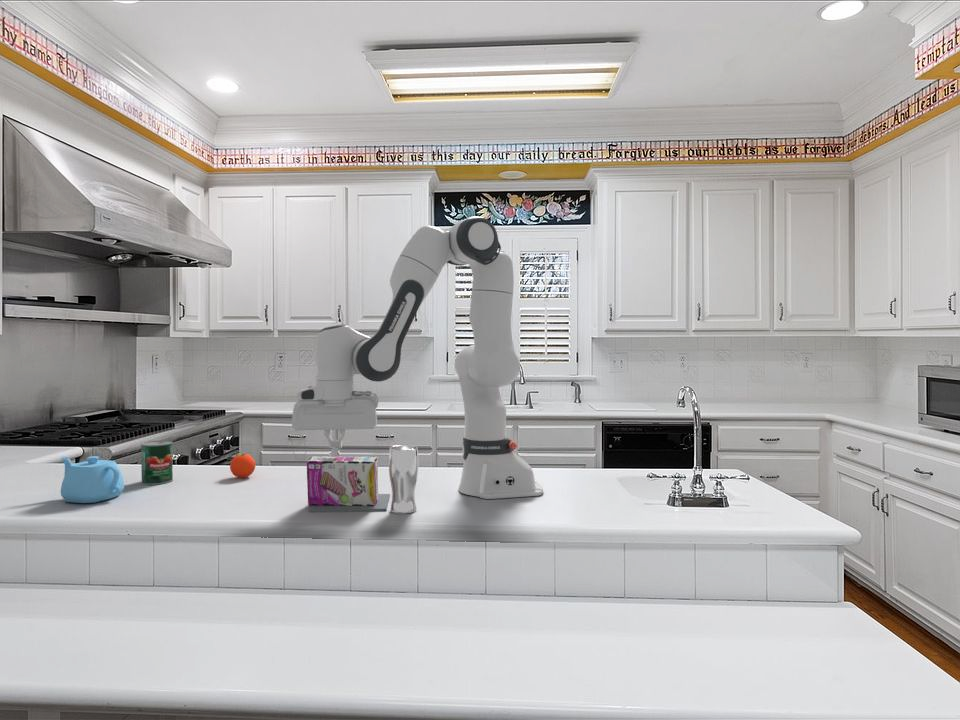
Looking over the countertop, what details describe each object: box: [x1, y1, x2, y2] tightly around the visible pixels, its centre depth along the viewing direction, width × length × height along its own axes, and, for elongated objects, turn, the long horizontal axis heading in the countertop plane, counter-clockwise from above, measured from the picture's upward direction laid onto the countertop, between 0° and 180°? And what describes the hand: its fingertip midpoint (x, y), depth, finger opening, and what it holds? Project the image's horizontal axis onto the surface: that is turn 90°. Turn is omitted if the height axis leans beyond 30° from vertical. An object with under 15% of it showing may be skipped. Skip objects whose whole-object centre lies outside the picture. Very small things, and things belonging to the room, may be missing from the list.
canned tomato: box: [140, 439, 174, 486], centre depth 178 cm, size 8×8×11 cm
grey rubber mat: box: [308, 493, 391, 513], centre depth 156 cm, size 18×14×1 cm
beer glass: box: [388, 444, 419, 515], centre depth 150 cm, size 7×7×15 cm
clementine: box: [229, 453, 256, 479], centre depth 184 cm, size 8×7×7 cm
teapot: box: [60, 455, 125, 504], centre depth 159 cm, size 13×11×18 cm
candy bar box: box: [306, 455, 379, 507], centre depth 153 cm, size 11×5×16 cm
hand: (335, 447), depth 155 cm, fingers closed
